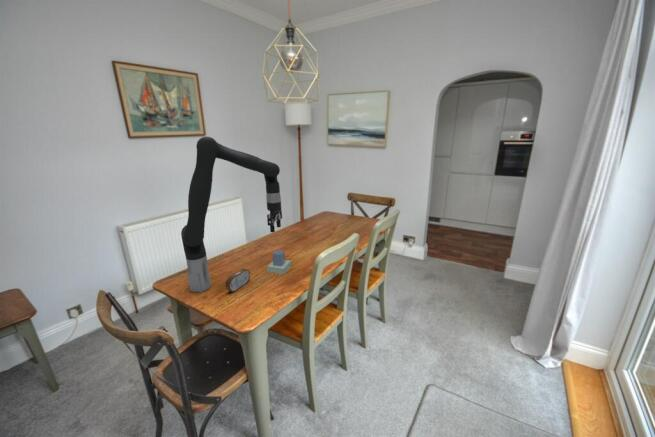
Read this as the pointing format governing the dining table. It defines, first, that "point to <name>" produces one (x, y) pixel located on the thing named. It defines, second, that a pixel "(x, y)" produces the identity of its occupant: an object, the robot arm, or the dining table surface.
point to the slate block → (278, 258)
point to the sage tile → (279, 267)
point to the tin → (237, 280)
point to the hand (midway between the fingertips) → (275, 229)
